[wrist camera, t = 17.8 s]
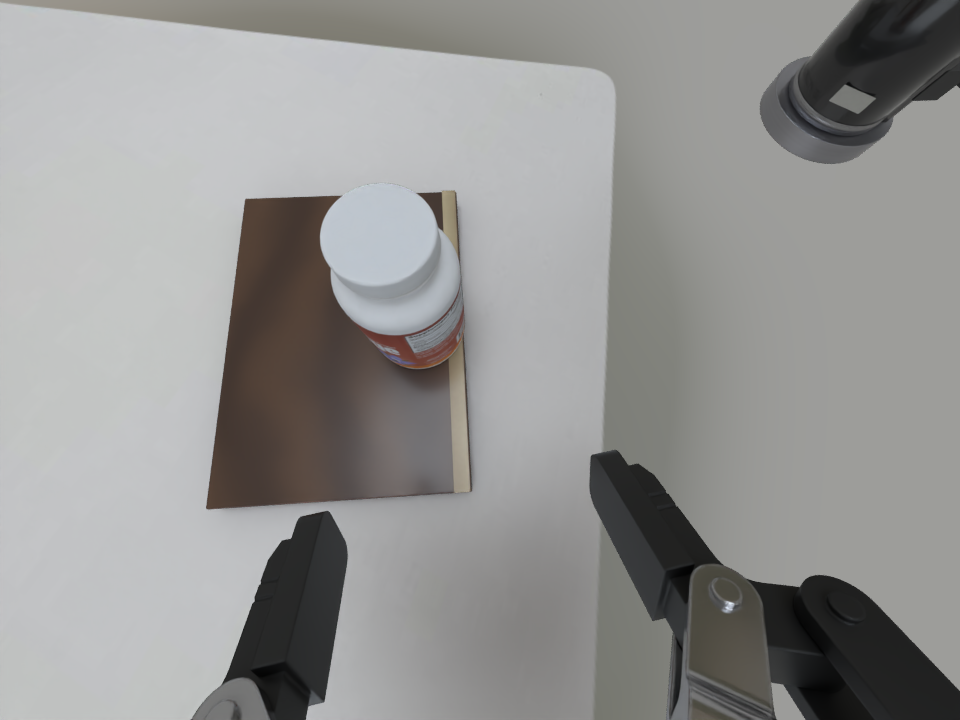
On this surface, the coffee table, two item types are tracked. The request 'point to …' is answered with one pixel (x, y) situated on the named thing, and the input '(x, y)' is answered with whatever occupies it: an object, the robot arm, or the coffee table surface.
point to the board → (325, 381)
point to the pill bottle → (395, 273)
